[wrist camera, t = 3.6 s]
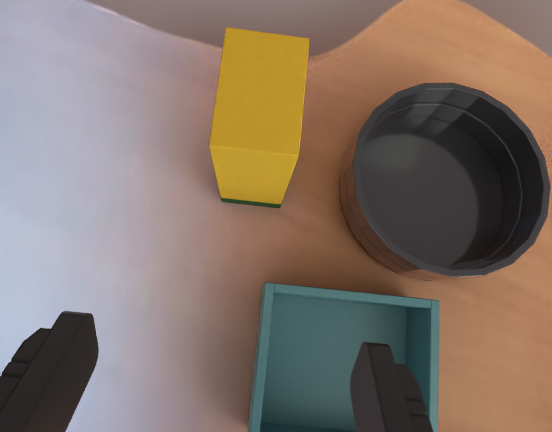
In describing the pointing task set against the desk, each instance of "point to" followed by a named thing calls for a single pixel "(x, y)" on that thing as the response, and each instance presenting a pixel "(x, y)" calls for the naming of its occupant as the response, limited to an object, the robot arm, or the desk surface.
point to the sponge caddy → (333, 353)
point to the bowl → (444, 183)
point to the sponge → (258, 115)
